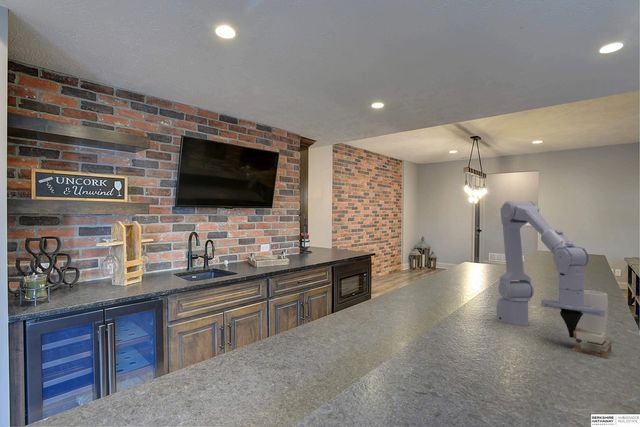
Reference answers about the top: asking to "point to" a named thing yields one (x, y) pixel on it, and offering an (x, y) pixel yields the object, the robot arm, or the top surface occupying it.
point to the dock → (594, 348)
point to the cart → (589, 336)
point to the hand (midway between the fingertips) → (572, 336)
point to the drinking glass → (595, 321)
